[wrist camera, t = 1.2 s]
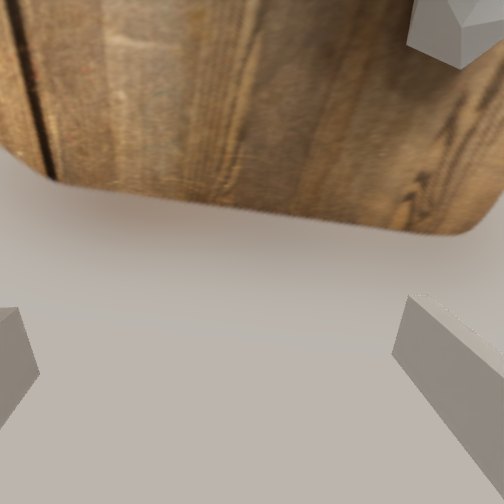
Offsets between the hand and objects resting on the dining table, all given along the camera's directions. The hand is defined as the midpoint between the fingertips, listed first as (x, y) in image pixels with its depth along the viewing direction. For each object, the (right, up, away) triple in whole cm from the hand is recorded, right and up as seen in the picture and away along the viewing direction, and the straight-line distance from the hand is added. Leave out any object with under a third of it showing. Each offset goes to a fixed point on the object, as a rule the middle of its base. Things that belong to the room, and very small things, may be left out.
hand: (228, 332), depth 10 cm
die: (+18, +25, +15) cm, 34 cm away
